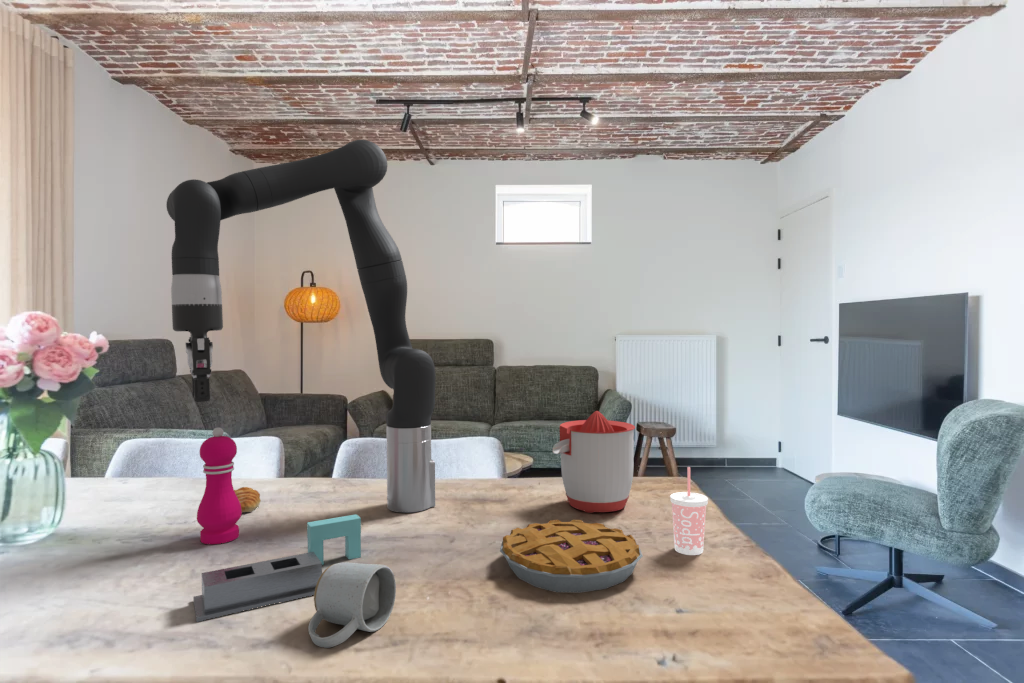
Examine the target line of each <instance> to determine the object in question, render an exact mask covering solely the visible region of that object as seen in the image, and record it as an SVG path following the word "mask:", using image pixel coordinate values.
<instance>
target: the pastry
mask: <svg viewBox="0 0 1024 683" xmlns="http://www.w3.org/2000/svg"><path fill="white" fill-rule="evenodd" d="M234 491H235V494H236V496H237V498H238V500H239V502H240V505H241V511H242V513H250V512H251V513H253V512H254V511H255V510H256V508H257V507H258V508H259V506H260V503H261V501H262V500H261V497H260V496H261V494H260V493H259V491H258V490H256V489H254V488H253V487H249V486H243V487H239V488H237V489H234ZM258 508H257V509H258ZM254 509H255V510H254ZM252 511H253V512H252Z"/></svg>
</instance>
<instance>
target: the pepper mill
mask: <svg viewBox="0 0 1024 683" xmlns="http://www.w3.org/2000/svg"><path fill="white" fill-rule="evenodd" d="M224 433H225V432H224V429H223V428H222V427H220V426H219V427H214V429H213V430H212V435H213V436H210V437H209V438H207V439H205V440H204V441H203V442H201V443H202V444H201V445H200V447H199V457H200V459H201V460H202V461H203V462H204V464H203V465H202V468H203V470H202V473H203V474H205V487H204V488H205V489H204V493H203V495H202V498H201V500H200V503H199V505H198V509H197V511H196V521H197V524H199V525H200V526H201V527H202V529H201V530H200V532H199V534H200V535H199V536H200V537H199V538H200V542H201V543H202V544H205V545H220V544H221V543H222V544H225V543H229V542H232V541H235V540H236V539H238V538H239V537H240V526H239V525H238V524H237V522H238V521H239V520H240V519H241V517H242V513H243V512H242V511H241V505H240V502H239V500H238V498H237V496H236V494H235V491H234V490H235V489H234V486H233V480H232V473H233V471H234V470H235V467H234V465H235V462H234V461H233V459H234V458H235V457H236V455H237V453H238V448H237V444H236V441H235V440H234V439H233V438H231V437H229V436H226V435H224Z"/></svg>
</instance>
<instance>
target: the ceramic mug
mask: <svg viewBox="0 0 1024 683" xmlns="http://www.w3.org/2000/svg"><path fill="white" fill-rule="evenodd" d="M396 594H397V584H396V577H395V574H394V572H393V570H392V569H391V568H390V567H389V566H388V565H385V564H376V563H375V564H374V563H372V564H371V563H357V562H346V561H345V562H338V563H333V564H331V565H329V566H328V567H326V569H324V571H322V574H321V576H320V578H319V580H318V582H317V585H316V588H315V592H314V596H313V602H314V604H313V605H314V608H315V613H314V614H313V616H312V618H311V619H310V621H309V624H308V634H309V637H310V638H311V642H312V643H313V644H314V645H315V646H317V647H320V648H323V647H324V649H327V648H328V649H329V648H333V647H336V646H338V645H340V644H342V643H344V642H346V641H347V640H348V639H349V638H350V637H352V635H353V634H354V633H355V632H356V631H357V630H360V631H364V632H370V633H372V632H377V631H378V630H380V629H382V627H384V625H385V624H386V623H387V621H388V620H389V618H390V616H391V614H392V612H393V609H394V606H395V601H396V596H397V595H396ZM322 621H327V622H329V623H331V624H335V625H340V626H343V628H341V629H340V630H339V631H337V632H335V633H333V634H331V635H329V636H325V637H321V636H320V635H319V634H317V633H316V631H317V628H318V626H319V624H320V623H321V622H322Z"/></svg>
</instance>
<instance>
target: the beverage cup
mask: <svg viewBox="0 0 1024 683" xmlns="http://www.w3.org/2000/svg"><path fill="white" fill-rule="evenodd" d="M686 468H687V475H686V476H687V491H681V492H680V491H679V492H674V493H671V494H670V495H669V499H670V500H669V501H670V502H671V511H672V526H673V527H672V529H673V542H674V550H675V551H676V552H677V553H679V554H682V555H686V556H696V555H697V556H699V555H701V554H703V553H704V545H705V543H704V542H705V530H706V529H705V528H706V513H707V505H708V504H709V503H708V502H709V498H708V497H707V496H706V495H705V494H702V493H697V492H691V467H690V466H687V467H686Z"/></svg>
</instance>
